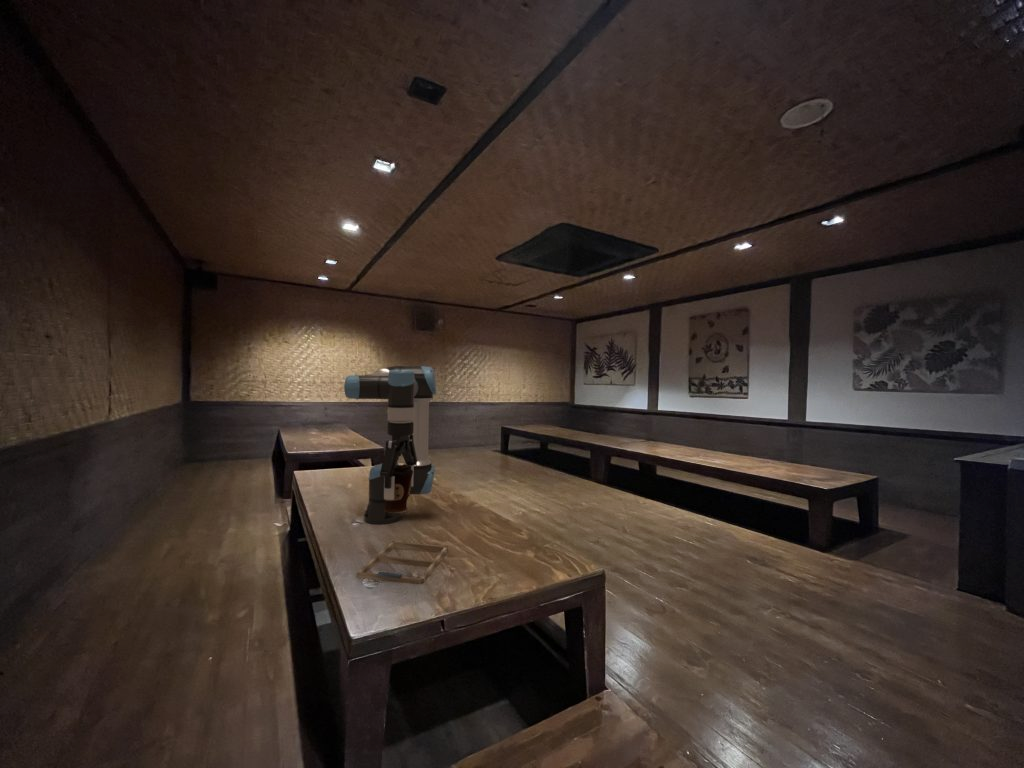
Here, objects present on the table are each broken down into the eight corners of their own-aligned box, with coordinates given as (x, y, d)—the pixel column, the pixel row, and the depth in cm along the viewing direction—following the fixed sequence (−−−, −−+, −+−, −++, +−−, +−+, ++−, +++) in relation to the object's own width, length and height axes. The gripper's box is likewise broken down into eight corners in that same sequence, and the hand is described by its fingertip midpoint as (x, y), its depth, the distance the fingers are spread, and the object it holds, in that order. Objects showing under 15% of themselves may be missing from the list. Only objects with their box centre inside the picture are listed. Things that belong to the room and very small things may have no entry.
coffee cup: (401, 516, 109) (404, 469, 110) (374, 513, 111) (377, 467, 112) (415, 508, 118) (418, 464, 119) (390, 506, 120) (392, 463, 121)
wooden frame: (392, 547, 136) (392, 539, 136) (447, 552, 133) (448, 544, 133) (355, 580, 113) (355, 571, 113) (421, 587, 110) (422, 578, 110)
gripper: (406, 416, 130) (405, 480, 131) (367, 425, 106) (366, 504, 106) (427, 417, 129) (426, 482, 130) (393, 427, 105) (392, 506, 105)
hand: (399, 492), depth 118 cm, fingers open, 13 cm apart
